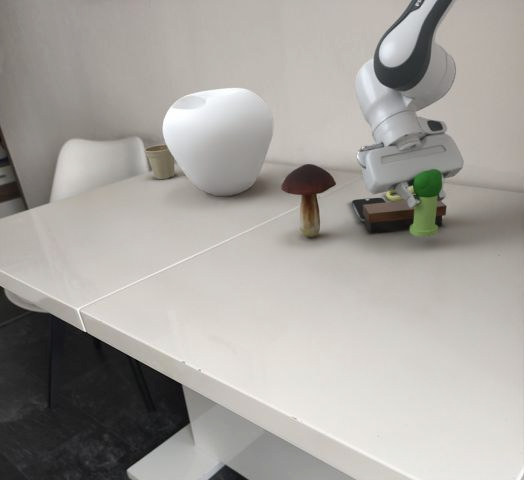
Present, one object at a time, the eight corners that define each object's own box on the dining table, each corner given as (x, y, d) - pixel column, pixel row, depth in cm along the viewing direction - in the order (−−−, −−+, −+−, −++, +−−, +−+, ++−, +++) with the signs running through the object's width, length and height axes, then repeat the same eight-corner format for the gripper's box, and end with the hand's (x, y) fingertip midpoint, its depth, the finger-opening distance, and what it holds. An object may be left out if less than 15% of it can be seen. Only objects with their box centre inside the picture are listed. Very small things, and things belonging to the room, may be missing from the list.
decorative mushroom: (307, 250, 108) (304, 175, 100) (274, 237, 115) (268, 166, 107) (347, 235, 113) (347, 162, 105) (312, 223, 121) (310, 154, 112)
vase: (226, 172, 164) (216, 83, 151) (296, 183, 148) (291, 84, 135) (155, 198, 147) (136, 100, 134) (225, 213, 131) (211, 104, 118)
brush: (435, 217, 118) (437, 197, 115) (444, 226, 113) (446, 205, 110) (362, 224, 118) (362, 204, 115) (368, 234, 112) (369, 213, 110)
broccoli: (433, 225, 107) (439, 166, 100) (442, 235, 102) (448, 173, 96) (405, 228, 107) (409, 168, 100) (413, 237, 102) (417, 176, 96)
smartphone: (382, 196, 130) (396, 217, 117) (382, 200, 130) (396, 220, 117) (350, 199, 130) (361, 220, 117) (350, 202, 130) (361, 223, 118)
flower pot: (146, 176, 168) (140, 147, 164) (174, 170, 171) (170, 142, 167) (154, 183, 161) (148, 153, 156) (183, 177, 164) (179, 147, 159)
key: (439, 193, 131) (440, 184, 129) (395, 203, 128) (395, 194, 126) (422, 186, 136) (422, 178, 135) (379, 195, 133) (379, 187, 132)
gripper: (360, 137, 97) (389, 204, 95) (451, 120, 103) (481, 183, 101) (347, 158, 103) (374, 222, 101) (434, 141, 109) (462, 200, 107)
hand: (428, 202), depth 101 cm, fingers closed on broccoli, 4 cm apart
